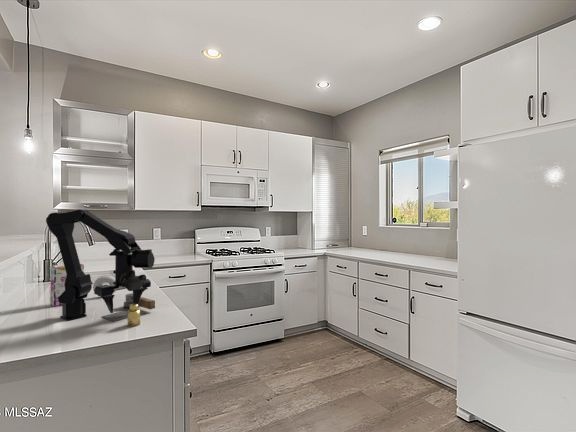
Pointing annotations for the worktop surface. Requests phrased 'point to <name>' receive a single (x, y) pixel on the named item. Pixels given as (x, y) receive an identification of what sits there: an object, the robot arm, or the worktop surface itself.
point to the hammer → (142, 302)
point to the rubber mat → (116, 316)
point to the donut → (104, 279)
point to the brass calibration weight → (133, 316)
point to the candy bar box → (58, 283)
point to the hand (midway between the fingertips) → (123, 309)
